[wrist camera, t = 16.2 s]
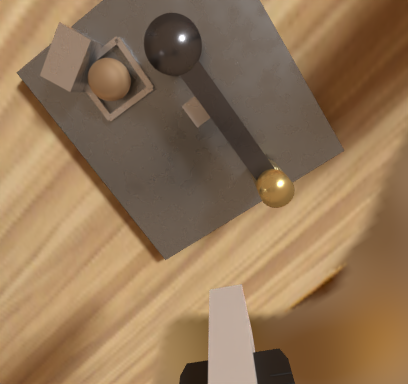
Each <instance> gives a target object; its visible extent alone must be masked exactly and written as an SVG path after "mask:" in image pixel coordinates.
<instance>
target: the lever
mask: <svg viewBox="0 0 408 384" xmlns="http://www.w3.org/2000/svg"><path fill="white" fill-rule="evenodd" d="M144 50H145V54H146V57H147V59H148V61H149V62H150V64H151V65H152V66H153V67H154V68H155V69H156V70H157V71H159V72H161V73H163V74H165V75H168V76H175V77H177V76H181V78H182V79H183V81H184V82H185V83H186V85H187V86H188V87H189V89H190V90H191V92H192V93H193V94H194V97H193V98H192V99H190V100H189V101H188V102H187V103H185V104H184V105H183V106H182V108H183V109H184V110H185V112H186V113H187V114H188V116H189V117H190V118H191V120H192V121H193V122H194V124H195V125H196V126H197V128H198V127H199V126H200V125H202V124H203V123H204V122H206V121H207V120H208V119H209V118H211V119H212V120H213V122H214V123H215V124H216V126H217V127H218V129H219V130H220V131H221V133H222V134H223V135H224V137H225V138H226V140H227V141H228V142H229V144H230V145H231V146H232V148H233V149H234V151H235V152H236V153H237V155H238V156H239V157H240V159H241V160H242V162H243V163H244V164H245V166H246V167H247V168H248V170H249V171H250V173H251V177H252V179H253V181H254V184H255V186H256V188H257V191H258V193H259V195H260V197H261V199H262V201H263V202H264V203H265V204H266V205H267V206H270V207H273V208H279V207H283V206H285V205H286V204H288V203H289V202H290V201H291V199H292V198H293V195H294V185H293V183H292V181H291V180H290V179H289V178H288V177H287V176H286V174H285V173H284V172H283V171H282V170H281V169H280V167H279V166H278V165H277V164H276V163H275V162H274V161H272V160H270V159H268V158H267V157H266V155H265V154H264V153H263V151H262V150H261V148H260V147H259V146H258V144H257V143H256V141H255V140H254V138H253V137H252V136H251V134H250V133H249V131H248V130H247V129H246V127H245V126H244V124H243V123H242V121H241V120H240V119H239V117H238V116H237V114H236V113H235V111H234V110H233V109H232V107H231V106H230V104H229V103H228V102H227V100H226V99H225V97H224V96H223V94H222V93H221V92H220V90H219V89H218V87H217V86H216V84H215V83H214V82H213V80H212V79H211V77H210V76H209V75H208V73H207V72H206V70H205V69H204V67H203V66H202V65H201V63H200V62H199V60H200V58H201V54H202V41H201V37H200V33H199V31H198V29H197V27H196V26H195V24H194V23H193V22H192V21H191V20H190V19H189V18H187V17H186V16H184V15H182V14H178V13H165V14H162V15H160V16H158V17H157V18H155V19H154V20H153V21H152V22H151V23H150V25H149V26H148V28H147V30H146V33H145V36H144Z"/></svg>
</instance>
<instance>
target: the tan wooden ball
mask: <svg viewBox="0 0 408 384" xmlns="http://www.w3.org/2000/svg"><path fill="white" fill-rule="evenodd" d="M88 83H89V86H90V88H91V90H92V91H93V93H94V94H95V95H96V96H98V97H99V98H101V99H103V100H106V101H117V100H119V99H121V98H123V97H124V96H125V95H126V94H127V92H128V91H129V88H130V84H131V78H130V74H129V72H128V70H127V68H126V67H125V66H124V65H123V64H122V63H121V62H120V61H118V60H116V59H113V58H102V59H99V60H97V61H96V62H94V63H93V64H92V66H91V67H90V69H89V72H88Z"/></svg>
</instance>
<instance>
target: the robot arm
mask: <svg viewBox="0 0 408 384" xmlns="http://www.w3.org/2000/svg"><path fill="white" fill-rule="evenodd" d="M208 356H209V357H208V360H207V361H201V362H195V363H188V364H187V365H186V366H185V368H184V370H183V372H182V374H181V376H180V383H179V384H295V382H294V379H293V375H292V372H291V368H290V364H289V361H288V358H287V357H286V356H285V355H284V354H283V352H282V351H281V350H280V349H273V350H267V351H260V352H255V349H254V343H253V336H252V331H251V326H250V321H249V316H248V312H247V307H246V302H245V297H244V293H243V288H242V284H240V285H234V286H228V287H222V288H217V289H211V290H210V296H209V354H208Z"/></svg>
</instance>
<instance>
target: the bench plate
mask: <svg viewBox="0 0 408 384" xmlns="http://www.w3.org/2000/svg"><path fill="white" fill-rule="evenodd" d="M165 13H178V14H182V15H184V16H186V17H187V18H189V19H190V20H191V21H192V22H193V23H194V24H195V26H196V27H197V29H198V31H199V33H200V37H201V41H202V54H201V58H200V60H199V62H200V63H201V65H202V66H203V67H204V69H205V70H206V72H207V73H208V75H209V76H210V77H211V79H212V80H213V82H214V83H215V84H216V86H217V87H218V89H219V90H220V92H221V93H222V94H223V96H224V97H225V99H226V100H227V102H228V103H229V104H230V106H231V107H232V109H233V110H234V111H235V113H236V114H237V116H238V117H239V119H240V120H241V121H242V123H243V124H244V126H245V127H246V129H247V130H248V131H249V133H250V134H251V136H252V137H253V138H254V140H255V141H256V143H257V144H258V146H259V147H260V148H261V150H262V151H263V153H264V154H265V155H266V157H267V158H268V159H270V160H272V161H274V162H275V163H276V164H277V165H278V166H279V167H280V169H281V170H282V171H283V172H284V173H285V174H286V176H287V177H288V178H289V179H290V180H291V181H292V182H294V181H296V180H297V179H299V178H300V177H302V176H304V175H305V174H307V173H309V172H310V171H312V170H313V169H315V168H317V167H318V166H320V165H322V164H323V163H325V162H327V161H328V160H330V159H331V158H333V157H335V156H336V155H338V154H340V153H341V152H343V151H344V149H343V147H342V145H341V144H340V142H339V140H338V138H337V137H336V135H335V133H334V131H333V129H332V128H331V126H330V124H329V122H328V121H327V119H326V117H325V115H324V114H323V112H322V110H321V108H320V106H319V105H318V103H317V101H316V99H315V98H314V96H313V94H312V92H311V90H310V89H309V87H308V85H307V83H306V82H305V80H304V78H303V76H302V74H301V73H300V71H299V69H298V67H297V66H296V64H295V62H294V60H293V59H292V57H291V55H290V53H289V51H288V50H287V48H286V46H285V44H284V43H283V41H282V39H281V37H280V35H279V34H278V32H277V30H276V28H275V27H274V25H273V23H272V21H271V19H270V18H269V16H268V14H267V12H266V11H265V9H264V7H263V5H262V4H261V2H260V0H103V1H101V2H100V3H99V4H98V5H97V6H95V7H94V8H93V9H92V10H91V11H90V12H88V13H87V14H86V15H85V16H84V17H82V18H81V19H80V20H79V21H78V22H76V23H75V24H74V25H73V26H72V27H69V26H67V25H64V24H62V23H60V22H59V25H58V27H57V30H56V33H55V35H54V38H53V41H52V43H51V44H50V45H49V46H48V47H47V48H45V49H44V50H43V51H42V52H41V53H39V54H38V55H37V56H36V57H35V58H34V59H32V60H31V61H30V62H29V63H28V64H26V65H25V66H24V67H23V68H22V69H20V70H19V71H18V72H17V74H18V75H19V76H20V78H21V79H22V80H23V81H24V83H25V84H26V85H27V86H28V88H29V89H30V90H31V91H32V93H33V94H34V95H35V96H36V98H37V99H38V100H39V101H40V103H41V104H42V105H43V106H44V108H45V109H46V110H47V111H48V113H49V114H50V115H51V117H52V118H53V119H54V120H55V122H56V123H57V124H58V125H59V127H60V128H61V129H62V130H63V132H64V133H65V134H66V135H67V137H68V138H69V139H70V140H71V142H72V143H73V144H74V145H75V147H76V148H77V149H78V151H79V152H80V153H81V154H82V156H83V157H84V158H85V159H86V161H87V162H88V163H89V164H90V166H91V167H92V168H93V169H94V171H95V172H96V173H97V174H98V176H99V177H100V178H101V179H102V181H103V182H104V183H105V184H106V186H107V187H108V188H109V190H110V191H111V192H112V193H113V195H114V196H115V197H116V198H117V200H118V201H119V202H120V203H121V205H122V206H123V207H124V208H125V210H126V211H127V212H128V213H129V215H130V216H131V217H132V218H133V220H134V221H135V222H136V223H137V225H138V226H139V227H140V229H141V230H142V231H143V232H144V234H145V235H146V236H147V237H148V239H149V240H150V241H151V242H152V244H153V245H154V246H155V247H156V249H157V250H158V251H159V252H160V254H161V255H162V256H163V257H164V259H165V260H166V259H168V258H170V257H171V256H173V255H175V254H176V253H178V252H180V251H181V250H183V249H184V248H186V247H188V246H189V245H191V244H193V243H194V242H196V241H198V240H199V239H201V238H202V237H204V236H206V235H207V234H209V233H211V232H212V231H214V230H215V229H217V228H219V227H220V226H222V225H224V224H225V223H227V222H229V221H230V220H232V219H233V218H235V217H237V216H238V215H240V214H242V213H243V212H245V211H247V210H248V209H250V208H251V207H253V206H255V205H256V204H258V203H260V202H261V201H262V199H261V197H260V195H259V193H258V191H257V188H256V186H255V184H254V181H253V179H252V177H251V173H250V171H249V170H248V168H247V167H246V166H245V164H244V163H243V162H242V160H241V159H240V157H239V156H238V155H237V153H236V152H235V151H234V149H233V148H232V146H231V145H230V144H229V142H228V141H227V140H226V138H225V137H224V135H223V134H222V133H221V131H220V130H219V129H218V127H217V126H216V124H215V123H214V122H213V120H212V119H211V118H209V119H208V120H207V121H206V122H204V123H203V124H202V125H200V126H199V127H198V128H197V126H196V125H195V124H194V122H193V121H192V120H191V118H190V117H189V116H188V114H187V113H186V112H185V110H184V109H183V108H182V106H183V105H184V104H185V103H187V102H188V101H189V100H190V99H192V98H193V97H194V94H193V93H192V92H191V90H190V89H189V87H188V86H187V85H186V83H185V82H184V81H183V79H182V78H181V76H177V77H175V76H168V75H165V74H163V73H161V72H159V71H157V70H156V69H155V68H154V67H153V66H152V65H151V64H150V62H149V61H148V59H147V57H146V54H145V50H144V36H145V33H146V30H147V28H148V26H149V25H150V23H151V22H152V21H153V20H154V19H155V18H157V17H158V16H160V15H162V14H165ZM102 58H113V59H116V60H118V61H120V62H121V63H122V64H123V65H124V66H125V67H126V68H127V70H128V72H129V74H130V78H131V84H130V88H129V91H128V92H127V94H126V95H125V96H124V97H123V98H121V99H119V100H117V101H106V100H103V99H101V98H99V97H98V96H96V95H95V94H94V93H93V91H92V90H91V88H90V86H89V83H88V72H89V69H90V67H91V66H92V64H93V63H94V62H96V61H97V60H99V59H102Z"/></svg>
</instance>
